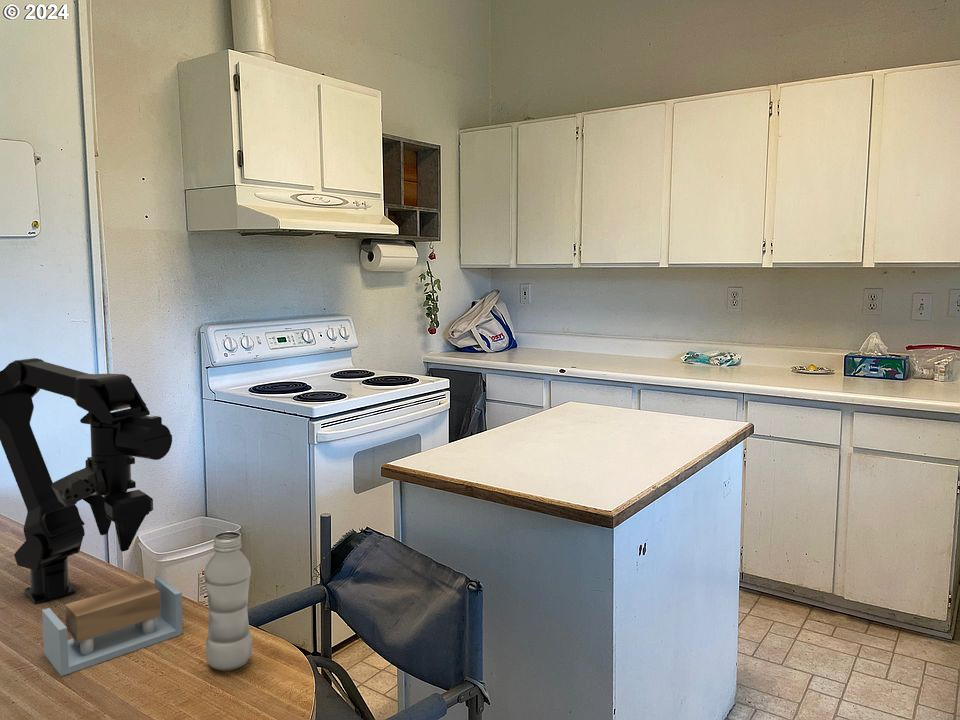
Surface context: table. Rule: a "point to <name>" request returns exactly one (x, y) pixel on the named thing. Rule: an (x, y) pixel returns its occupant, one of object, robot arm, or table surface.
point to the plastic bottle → (228, 604)
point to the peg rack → (112, 635)
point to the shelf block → (112, 611)
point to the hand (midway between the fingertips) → (113, 542)
